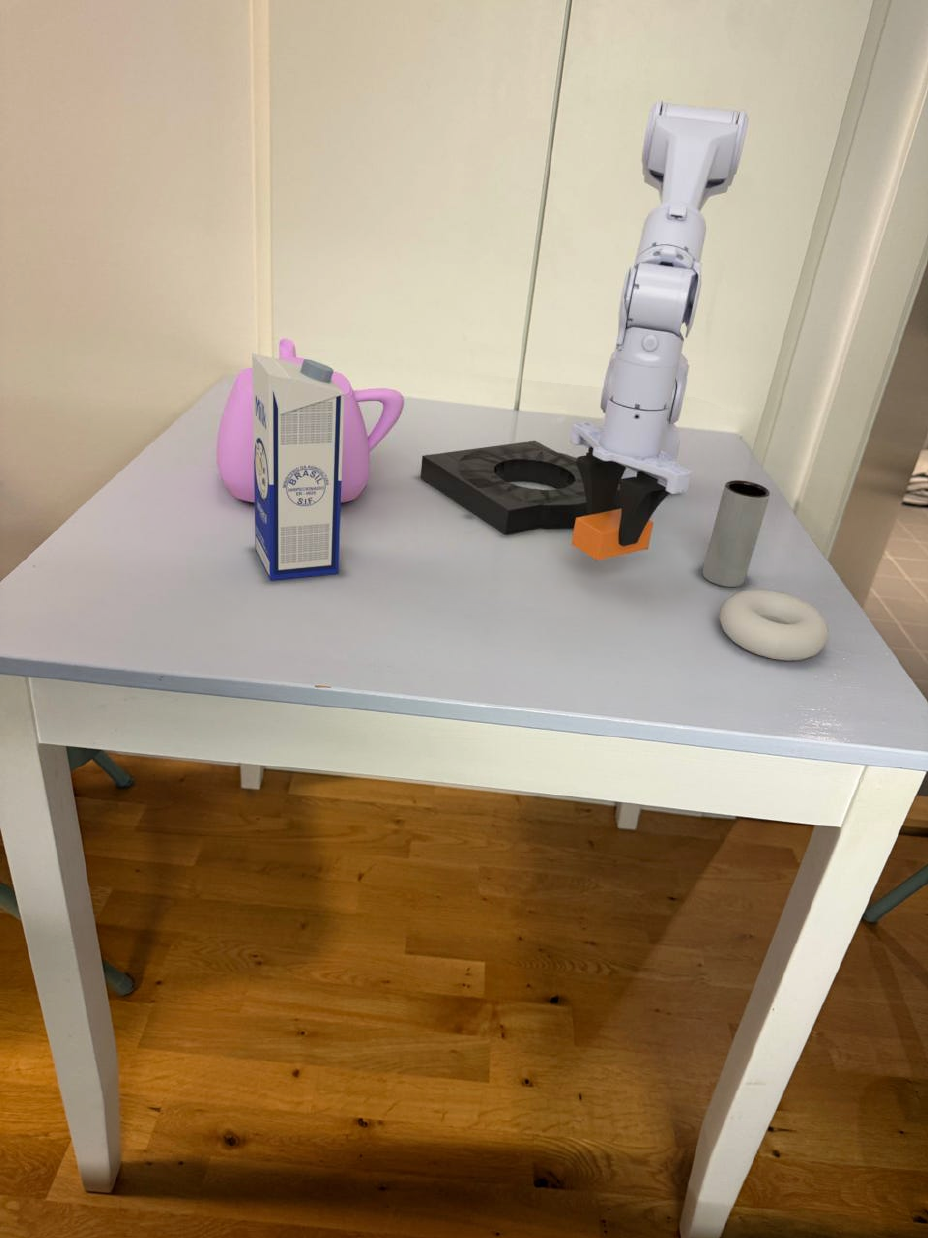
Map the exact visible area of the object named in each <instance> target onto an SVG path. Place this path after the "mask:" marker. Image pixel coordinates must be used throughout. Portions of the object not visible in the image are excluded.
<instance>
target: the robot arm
mask: <svg viewBox="0 0 928 1238" xmlns="http://www.w3.org/2000/svg"><path fill="white" fill-rule="evenodd" d="M749 119H750V118H749V115H748V114H747V112H746V110H745V109H739V111H738V110H731V109H723V108H714V107H704V106H697V105H687V104H678V103H670V102H664V101H663V100H660V99H659V100H657V101H656V102H655V103H654V104H652V105H651V107H650V109H649V114H648V118H647V123H646V129H645V134H644V140H643V146H642V153H641V164H642V171H641V172H642V173H641V174H642V176H643V182H644V183H645V184H646V185H649V186H650V187H652V188H654V189H655V190H657V191H658V195H659V200H660V204H658V205H656V206H655V207H654V208H652V209H651V210H650V212H649V213H648V214H647V215H646V217H645V219H644V223H643V227H642V230H641V234H640V238H639V239H640V240H639V243H638V248H637V250H636V251H637V252H636V256H635V261H634V264H633V268H632V267H631V266H629V267H628V269H627V271H626V273H625V277H624V281H623V285H622V290H621V296H620V301H619V308H618V321H617V322H618V323H617V324H618V327H617V335H616V342H615V348H614V350H613V352H612V353H610V357H609V361H608V365H607V368H606V372H605V377H604V382H603V387H602V391H601V392H602V393H601V398H600V404H599V405H600V406H599V407H600V409H601V410H602V413H603V414H604V418H603V419H604V420H603V425H602V427H601V426H597V425H595V424H593V423H590V422H588V421H587V422H586V421H585V422H578V423H573V425H572V429H571V436H570V441H569V442H570V443H571V444H573V445H575V446H583V447H585V448H587V449H588V451H587V452H586V453H585V455H579V456H577V457H576V458H577V461H576V465H577V468H578V470H579V472H580V475H581V478H582V481H583V485H584V490H585V495H586V504H587V515H592V514H597V513H602V512H607V511H612V507H613V503H614V499H615V495H616V491H617V488H618V486H619V485H620V490H621V499H622V511H621V520H620V526H619V535H618V541H619V544H620V545H622V546H627V545H631V544H635V543H637V542H638V540H639V538H640V536H641V534H642V532H643V530H644V528H645V526H646V524H647V522H648V521H649V520H650V519H651V517H652V516H653V514H654V512H655V511H656V510H657V508H658V507H659V506H660V504H661V503H662V502H663V501H664V500H665V499H666V498H667V497H668V496H669V495H670V494H671V495H676V494H682V493H685V492H688V491H689V487H690V483H691V478H692V475H693V471H692V470H689V469H687V468H685V467H684V466H682V465H680V463H678V462H677V458H678V455H679V449H680V444H681V439H680V438H681V437H680V433H679V428H678V427H677V426H676V424H675V423H676V422H678V421H679V419H680V415H681V411H682V408H683V403H684V398H685V393H686V388H687V383H688V375H689V369H690V365H689V359H688V358H687V357H686V355H684V354H683V347H684V343H685V342H684V341H685V339H687V338H688V336H689V334H690V332H691V330H692V328H693V325H694V322H695V316H696V313H697V308H698V303H699V299H700V294H701V288H702V265H703V263H702V262H701V259H702V254H703V249H704V244H705V238H706V233H707V223H706V219H705V217H704V215H703V214H702V213H701V210H702V209H703V207H704V205H705V204H706V202H707V201H708V200H709V198H710V197H713V196H717V195H721V194H726V193H727V192H728V189H729V187H731V186H732V184H733V181H734V178H735V176H736V175H737V172H738V169H739V165H740V161H741V157H742V153H743V148H744V145H745V140H746V135H747V130H748V126H749ZM683 324H684V325H685V327H686V332H685V339H684V335H683V334H682V332H681V328H682V325H683Z"/></svg>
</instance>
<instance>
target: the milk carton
mask: <svg viewBox="0 0 928 1238" xmlns="http://www.w3.org/2000/svg"><path fill="white" fill-rule="evenodd" d="M251 360H252V362H251V363H252V365H251V368H253V428H254V489H255V503H254V541H255V542H254V543H255V544H254V545H255V547H254V549H255V552H256V554H257V556H258V558H259V560H260V562H261V564H262V566H263V569H264V570H265V572H266V574H267V576H268V578H269V580H270V582H271V581H281V580H290V579H291V580H292V579H300V578H301V579H302V578H311V577H320V576H330V575H331V576H332V575H339V568H340V567H339V565H340V537H341V536H340V535H341V513H342V512H341V509H342V508H341V507H342V503H341V484H342V455H343V427H344V398H345V393H344V392H343V391H342V390H341V389H340V388H339V387H338V386H337V385H336V384H335V383H334V382H333V381H332V380H331V377H332V374H333V371H334V369H333V368H332V367H330V366H329V365H326V364H324V363H321V362H318V361H315V360H312V359H309V358H304V361H303V364H302V365H299V364H295V363H292V362H289V361H285V360H282V359H279V357H275V356H268V355H262V354H258V353H252V355H251ZM334 372H335V371H334Z"/></svg>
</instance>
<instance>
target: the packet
mask: <svg viewBox="0 0 928 1238" xmlns="http://www.w3.org/2000/svg"><path fill="white" fill-rule="evenodd" d="M621 511H622V509H617V510H612V511H607V512H602V513H597V514H592V515H587V516H582V517H577V518H576V521H575V527H574V528H573V533H572V538H571V546H573V547H574V548H576V549H578V550H579V551H581V552H583V553H584V554H586V555H587V556H588V557H590V558H592V559H594V560H595V561H596V562H599V561H602V560H607V559H611V558H614V557H619V556H623V555H628V554H631V553H636V552H641V551H644V550H648V549H649V545H650V540H651V536H652V532H653V528H654V523H655V522H654V521H653V520H650V519H649V521H648V522H647V524H646V526H645V528H644V530H643V532H642V534H641V536H640V538H639V540H638V542H637V543H635V544H631V545H627V546H622V545H620V544H619V541H618V535H619V526H620V520H621Z"/></svg>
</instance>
